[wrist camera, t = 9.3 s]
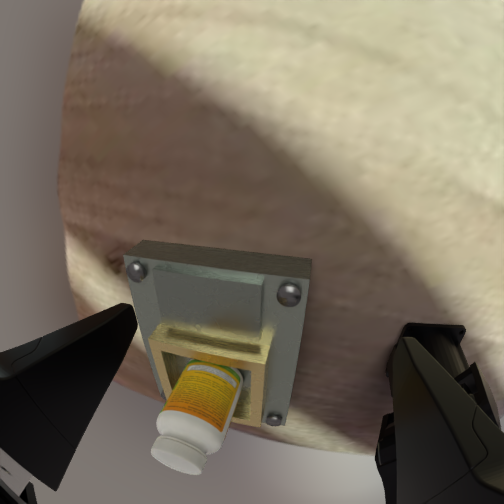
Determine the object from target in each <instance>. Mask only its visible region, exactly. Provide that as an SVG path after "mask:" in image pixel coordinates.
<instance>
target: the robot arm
mask: <svg viewBox="0 0 504 504" xmlns="http://www.w3.org/2000/svg"><path fill="white" fill-rule="evenodd" d="M137 327H138V323H137V319H136V315H135V312H134V308H133V306H132V305H130V304H126V303H120V304H118V305H115V306H113V307H110V308H108V309H106V310H103V311H101V312H99V313H96V314H94V315H92V316H89V317H87V318H85V319H82V320H80V321H78V322H75V323H73V324H71V325H68V326H66V327H63V328H61V329H59V330H56V331H54V332H52V333H49V334H47V335H45V336H43V337H40V338H38V339H35V340H33V341H31V342H28V343H26V344H23V345H20V346H18V347H15V348H12V349H9V350H6V351H4V352H0V504H37V501H36V496H35V492H34V487H33V484H32V483H31V482H30V481H29V480H30V479H31V478H32V476H34V477H36V478H37V479H38V480H40V481H41V482H43V483H44V484H45V485H47V486H48V487H50V488H51V489H53V490H54V491H57V489H58V488H59V485H60V483H61V481H62V479H63V476H64V474H65V472H66V470H67V468H68V466H69V463H70V461H71V459H72V457H73V455H74V453H75V451H76V448H77V447H78V444H79V442H80V441H81V438H82V436H83V435H84V433H85V431H86V429H87V427H88V424H89V423H90V421H91V419H92V417H93V415H94V413H95V411H96V409H97V407H98V406H99V404H100V402H101V400H102V398H103V396H104V394H105V392H106V391H107V389H108V387H109V385H110V383H111V382H112V380H113V378H114V376H115V374H116V373H117V371H118V369H119V367H120V365H121V363H122V362H123V359H124V357H125V355H126V353H127V350H128V348H129V346H130V344H131V341H132V339H133V337H134V335H135V332H136V330H137ZM409 328H411V329H410V330H408V329H409ZM461 330H462V331H461ZM465 332H466V329H465V327H464V326H463V325H442V324H423V323H408V324H406V325H405V327H404V329H403V331H402V334H401V336H400V339H399V341H398V343H397V344H396V345H395V346H394V349H393V351H392V353H391V356H390V358H389V360H388V363H387V369H386V376H387V377H389V382H390V389H391V396H392V397H393V411H394V412H393V413H391V414H390V413H389V414H387V415H384V416H383V420H382V425H381V430H380V435H379V439H378V444H377V448H376V454H375V461H376V465H377V469H378V471H379V474H380V476H381V478H382V482H383V485H384V490H385V499H386V504H504V433H503V432H502V431H501V425H500V419H499V414H498V408H497V404H496V402H495V399H494V396H493V394H492V391H491V389H490V386H489V384H488V382H487V381H486V379H485V377H484V375H483V373H482V372H481V370H480V368H479V367H478V365H477V363H476V362H474V363H473V364H471V365H470V367H469V365H468V363H467V360H466V358H465V355H464V353H463V351H462V348H461V346H460V342H461V340H462V338H463V337H464V335H465Z"/></svg>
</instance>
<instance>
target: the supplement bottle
mask: <svg viewBox="0 0 504 504" xmlns="http://www.w3.org/2000/svg"><path fill="white" fill-rule="evenodd" d="M242 387H243V377H242V375H241V373H240V372H239V370H238V369H237V368H234V367H229V366H224V365H219V364H214V363H210V362H205V361H201V360H196V359H190V360H189V362H188V363H187V365H186V366H185V368H184V370H183V372H182V374H181V376H180V377H179V379H178V381H177V383H176V385H175V387H174V389H173V390H172V392H171V394H170V396H169V398H168V400H167V401H166V403H165V405H164V407H163V408H162V410H161V412H160V414H159V416H158V418H157V421H156V425H157V429H158V431H159V433H160V434H161V435H162V436H159V437H158V438H157V439H156V441H155V443H154V445H153V447H152V449H151V454H152V456H153V457H154V458H156V459H157V460H158V461H160V462H161V463H163V464H164V465H166V466H168V467H170V468H172V469H175V470H177V471H180V472H183V473H186V474H192V475H199V474H201V473H202V471H203V469H204V466H205V464H206V462H207V456H206V454H212V453H215V452H217V451H218V450H219V449H220V448H221V446H222V444H223V442H224V439H225V437H226V434H227V431H228V428H229V425H230V423H231V420H232V417H233V414H234V411H235V408H236V406H237V403H238V400H239V397H240V394H241V391H242Z"/></svg>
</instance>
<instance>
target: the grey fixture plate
mask: <svg viewBox="0 0 504 504" xmlns="http://www.w3.org/2000/svg"><path fill="white" fill-rule="evenodd" d="M123 256H124V261H125V266H126V272H127V276H128V281H129V286H130V290H131V294H132V299H133V303H134V307H135V311H136V315H137V319H138V323H139V327H140V330H141V334H142V338H143V341H144V345H145V348H146V351H147V355H148V358H149V361H150V364H151V368H152V371H153V374H154V377H155V380H156V383H157V386H158V389H159V391H160V394H161V397H162V398H163V399H164V400H166V401H167V400H168V398H169V396H170V394H171V392H172V390H173V389H174V387H175V385H176V383H177V381H178V379H179V377H180V376H181V374H182V372H183V370H184V368H185V366H186V365H187V363H188V362H189V360H190V359H196V360H201V361H205V362H210V363H214V364H219V365H224V366H229V367H234V368H237V369H238V370H239V372H240V373H241V375H242V377H243V387H242V391H241V394H240V397H239V400H238V403H237V406H236V408H235V411H234V414H233V417H232V420H231V422H235V423H239V424H244V425H249V426H255V427H261V423H262V422H264V423H267V424H268V425H271V426H279V425H283V426H285V422H286V417H287V413H288V408H289V403H290V398H291V393H292V387H293V382H294V377H295V371H296V366H297V360H298V354H299V348H300V342H301V336H302V330H303V323H304V317H305V310H306V303H307V296H308V288H309V281H310V271H311V261H312V259H308V258H299V257H290V256H281V255H272V254H263V253H254V252H245V251H236V250H227V249H219V248H210V247H201V246H192V245H183V244H174V243H165V242H156V241H147V240H142V241H141V242H140V243H138V244H137V245H136V246H134V247H133V248H132V249H130V250H129V251H128V252H126V253H125V254H124V255H123Z"/></svg>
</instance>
